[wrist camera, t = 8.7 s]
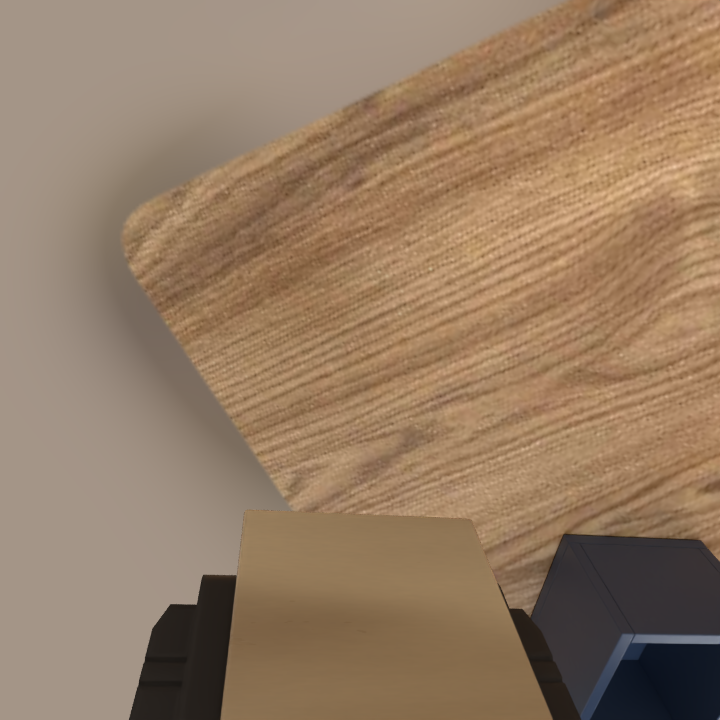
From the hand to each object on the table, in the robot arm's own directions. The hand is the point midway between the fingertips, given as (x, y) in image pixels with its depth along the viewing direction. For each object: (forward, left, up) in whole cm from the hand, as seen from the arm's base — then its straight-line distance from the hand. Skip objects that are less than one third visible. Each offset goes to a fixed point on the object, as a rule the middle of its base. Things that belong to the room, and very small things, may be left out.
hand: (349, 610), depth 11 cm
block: (0, 0, 0) cm, 0 cm away
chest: (-22, -24, -20) cm, 38 cm away
